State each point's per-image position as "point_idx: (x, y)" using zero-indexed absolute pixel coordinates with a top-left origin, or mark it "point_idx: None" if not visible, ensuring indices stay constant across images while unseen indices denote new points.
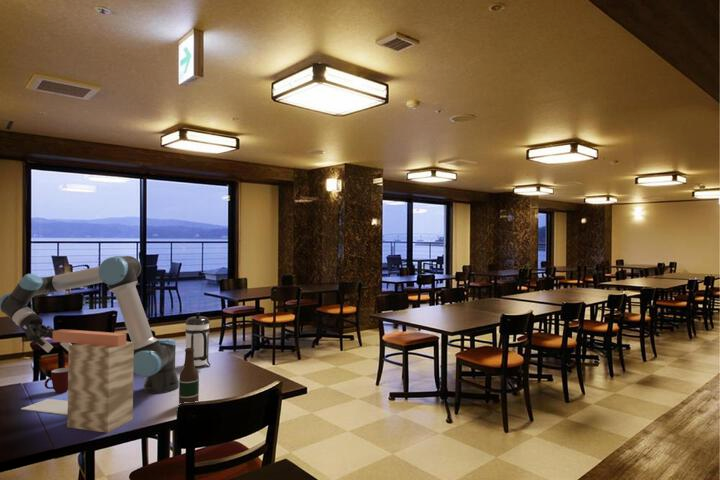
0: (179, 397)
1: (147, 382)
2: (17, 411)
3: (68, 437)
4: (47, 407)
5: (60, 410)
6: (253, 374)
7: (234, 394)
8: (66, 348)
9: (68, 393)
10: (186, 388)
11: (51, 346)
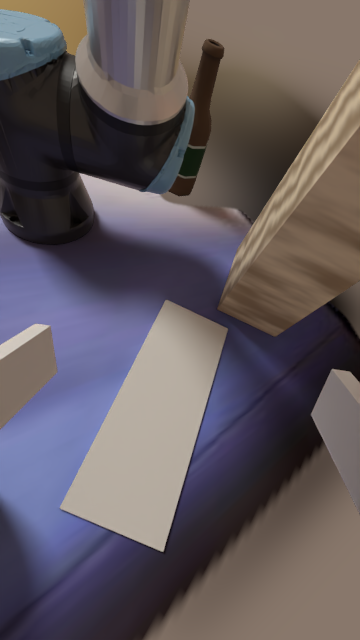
0: (186, 181)
1: (70, 217)
2: (180, 549)
3: (308, 319)
4: (163, 446)
5: (192, 391)
6: None
7: None
8: (16, 404)
9: (328, 299)
10: (203, 155)
11: (352, 377)
